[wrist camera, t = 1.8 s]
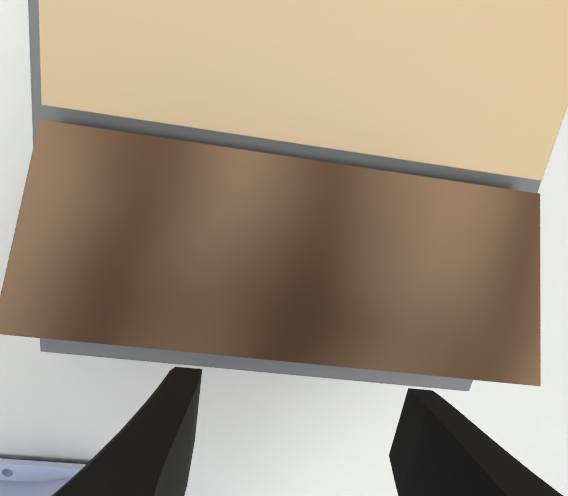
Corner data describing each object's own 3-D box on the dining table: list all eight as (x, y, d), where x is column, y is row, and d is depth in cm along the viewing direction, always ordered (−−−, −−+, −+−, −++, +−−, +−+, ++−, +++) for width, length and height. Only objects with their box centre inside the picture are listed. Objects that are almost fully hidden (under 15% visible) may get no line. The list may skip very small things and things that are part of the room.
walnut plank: (15, 331, 14) (-8, 333, 13) (57, 137, 15) (39, 119, 14) (513, 380, 16) (540, 386, 14) (514, 203, 17) (540, 193, 16)
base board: (51, 339, 19) (23, 370, 17) (38, -139, 14) (-5, -188, 11) (459, 378, 21) (483, 410, 19) (592, -23, 16) (648, -45, 13)
